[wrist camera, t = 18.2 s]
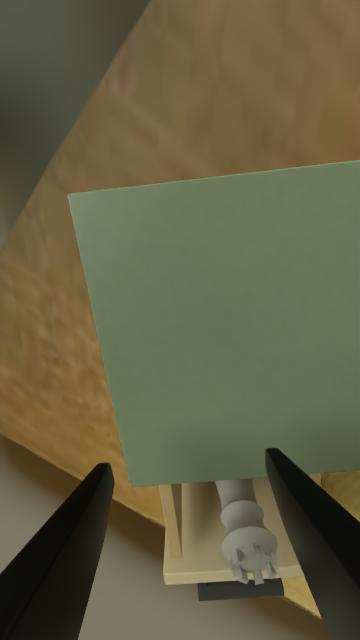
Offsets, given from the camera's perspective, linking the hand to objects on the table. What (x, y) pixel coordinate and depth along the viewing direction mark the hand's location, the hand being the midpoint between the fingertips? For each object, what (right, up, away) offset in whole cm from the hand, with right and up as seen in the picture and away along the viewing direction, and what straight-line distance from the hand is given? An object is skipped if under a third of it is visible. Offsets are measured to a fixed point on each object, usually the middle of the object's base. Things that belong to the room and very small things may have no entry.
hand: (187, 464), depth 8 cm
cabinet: (+2, +6, +10) cm, 12 cm away
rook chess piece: (+4, -6, +11) cm, 13 cm away
